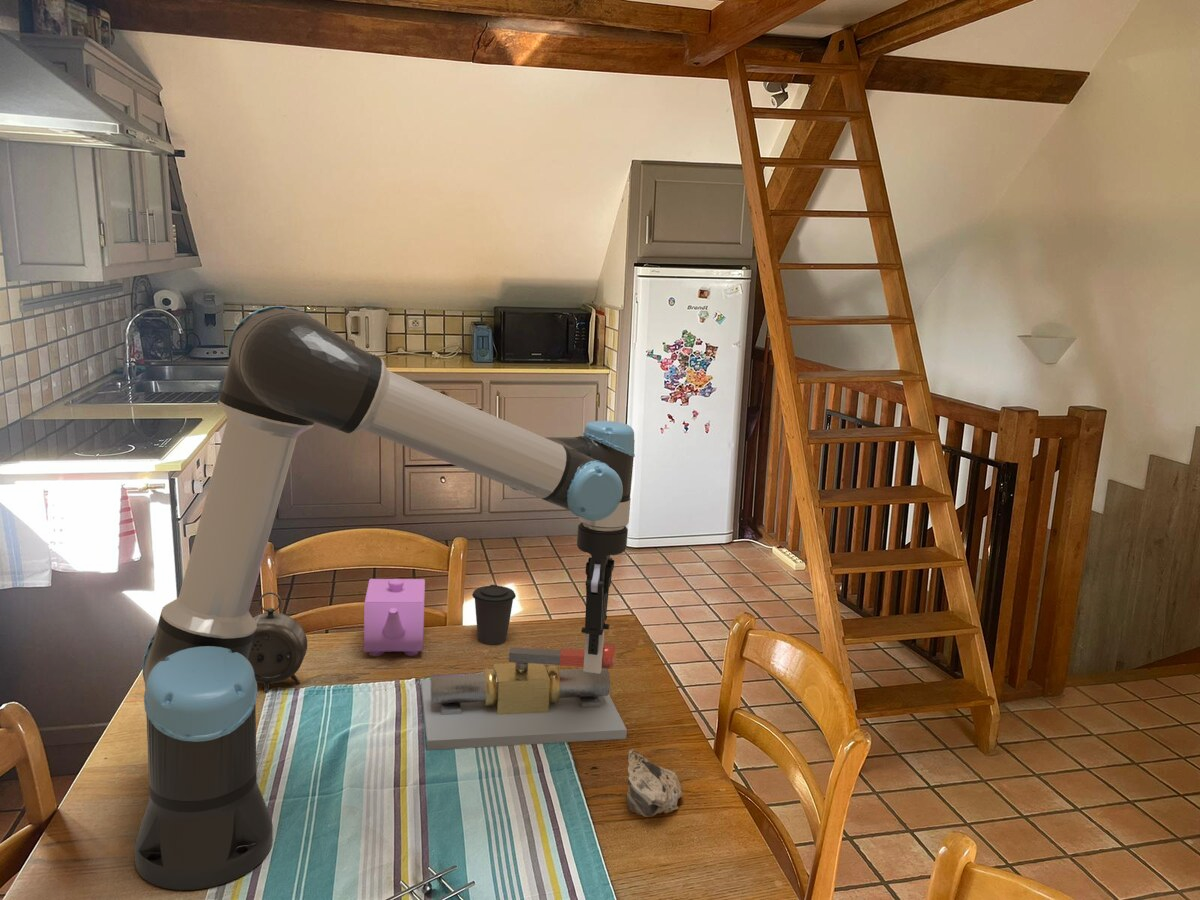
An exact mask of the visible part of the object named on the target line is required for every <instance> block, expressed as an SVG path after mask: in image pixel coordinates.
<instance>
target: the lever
mask: <svg viewBox="0 0 1200 900" xmlns="http://www.w3.org/2000/svg"><path fill="white" fill-rule="evenodd" d="M584 653H585V649H576V648H560V649H548V648H547V649H546V648H545V649H544V648H529V647H510V648H509V653H508V663H516V665H515V671H516V672H518V673H526V672H528V663H535V664H544V665H551V666H561V667H562V666H564V667H579V668H580V667H581V668H583V666H584ZM615 657H616V646H615V645H614V644H612V643H609V642H604V644H603V657H602V668H603V669H608V670H609V669H612V668H613V667H614V666H615V659H616V658H615Z"/></svg>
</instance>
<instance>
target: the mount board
mask: <svg viewBox="0 0 1200 900" xmlns="http://www.w3.org/2000/svg"><path fill="white" fill-rule="evenodd" d="M430 680H431V678H430V679H421V680H420V683H421V684H420V694H421V702H422V703H421V704H422V712H423V720H424V721H423V723H424V731H425V734H424V735H425V743H426V750H427V751H437V750H438V751H439V750H440V751H441V750H452V749H453V750H454V749H470V748H471V749H472V748H487V747H505V746H506V747H507V746H523V745H541V744H557V743H577V742H594V741H606V740H607V741H611V740H626V739H627V735H628V734H627V732H628V730H627V727H626V725H625V723H624V721H623V720H622V717H621V715H620V713H619V712H618V709H617V707H616V705H615V704H614V701H613V700H612V698H611V696H610V694H609V695H608V696H598V698H599V700H600V707H597V708H581V706H580V703H579V701H578V699H577V697H575V698H560V699H559V702H558V703H549V707H548V712H540V713H520V714H500V715H497V712H496V708H495V706H484V704H483V702H469V703H460V704H461V714H456V715H441V709H440V704H431V699H430Z"/></svg>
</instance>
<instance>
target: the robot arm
mask: <svg viewBox="0 0 1200 900" xmlns="http://www.w3.org/2000/svg"><path fill="white" fill-rule="evenodd" d="M227 350H228V353H227V355H228V361H229V362H228V365H227V369H226V372H225V375H224V381H223V384H222V387H221V392H220V396H219V399H218V404H219V406H220V408H221V409H222V410H223V412H224V413H225V415H226V418H227V420H226V423H225V427H224V429H223V434H222V438H221V442H220V445H219V449H218V452H217V455H216V459H215V464H214V467H213V470H212V471H213V472H212V474H211V478H210V482H209V485H208V488H207V491H206V492H207V493H206V497H205V499H204V504H203V507H202V511H201V514H200V518H199V522H198V525H197V529H196V532H195V537H194V539H193V544H192V546H191V551H190V553H189V559H188V562H187V566H186V569H185V573H184V577H183V580H182V584H181V587H180V591H179V594H178V597H177V598H176V599H174V600H172V601H170V602H169V603H167V604H165V605H164V606H163V607H162V609H161V612H160V616H159V619H158V623H157V626H156V630H155V632H154V634H152V637H151V638H150V639H149V641H148V644H147V646H146V648H145V651H144V655H143V658H142V678H143V681H144V687H145V688H144V689H145V690H144V695H143V704H144V712H145V714H146V715H145V716H146V735H147V739H146V740H147V741H146V742H147V763H148V764H147V765H148V784H149V785H148V786H149V791H148V792H149V798H148V803H147V805H146V808H145V811H144V814H143V817H142V820H141V823H140V826H139V830H138V831H137V834H136V839H135V844H134V860H135V861H134V862H135V863H134V864H135V868H136V869H135V870H136V871H137V873H138V874H139V876H140V877H142V879H144V880H145V881H146V882H148V883H150V884H151V885H153V886H156V887H160V888H163V889H167V890H169V889H170V890H177V891H192V890H193V891H194V890H201V889H207V888H213V887H216V886H219V885H223V884H226V883H229V882H232V881H233V880H236V879H238V878H240V877H242V876H244V875H246V874H247V873H249V872H251V871H252V870H254V869H255V868H256V867H258V866H259V865H260V864H261V863H262V862H263V861H264V860H265V859H266V857H267V856H268V854H269V853H270V852H271V850H272V846H273V841H274V839H273V836H274V833H273V829H274V828H273V821H272V816H271V814H270V812H269V808H268V806H267V804H266V801H265V799H264V796H263V795H262V791H261V790H260V787H259V784H258V781H257V778H258V777H257V775H258V773H257V767H258V766H257V720H256V719H257V717H256V716H257V714H256V713H257V711H256V709H257V708H256V704H257V698H258V682H256V679H255V674H254V670H253V667H252V665H251V663H250V662H249V661H248V657H249V653H250V650H251V646H252V642H253V639H254V635H255V632H256V628H257V624H256V622H255V620H254V619H253V617H254V616H252V615H251V613H250V607H251V604H252V601H253V596H254V593H255V589H256V587H257V586H256V585H257V581H258V579H259V574H260V571H261V568H262V565H263V560H264V558H265V557H264V556H265V553H266V550H267V547H268V542H269V539H270V536H271V531H272V528H273V526H274V521H275V517H276V515H277V510H278V507H279V503H280V501H281V500H280V499H281V496H282V493H283V490H284V486H285V482H286V478H287V475H288V473H289V469H290V464H291V462H292V457H293V455H294V450H295V446H296V445H297V444H296V443H297V440H298V437H299V436H300V435H301V434H302V433H304V432H306V431H308V430H310V429H313V427H314V425H315V423H317V424H320V425H323V426H326V427H329V428H332V429H335V430H338V431H340V432H343V433H345V434H349V435H354V434H355V433H359V432H361V431H364V432H368V433H370V434H373V435H375V436H378V437H381V438H383V439H385V440H388V441H390V442H393V443H395V444H398V445H401V446H404V447H406V448H409V449H411V450H415V451H417V452H419V453H422V454H424V455H426V456H430V457H433V458H435V459H437V460H441V461H442V462H445V463H449V464H451V465H452V466H456V467H457V468H458V467H459V468H461V469H464V470H466V471H469V472H472V473H474V474H477V475H479V476H482V477H484V478H487V479H490V480H492V481H494V482H497V483H500V484H503V485H505V486H507V487H509V488H510V489H512V490H513V491H521V492H523V493H526V494H529V495H532V496H533V497H536V498H540V499H541V500H542V501H545V502H548V503H551V504H552V505H555V506H559V507H561V508H564V509H565V510H568V511H569V512H571V514H572V515H574V516H576V517H578V519H579V522H580V523H579V524H578V526H577V538H576V539H577V540H576V546H577V548H578V549H579V550H580V551H582V552H584V553H588V554H589V555H590V556H591V557H590V556H588V560H587V562H586V563H585V572H584V573H585V574H586V581H585V584H584V585H585V592H586V593H585V594H586V595H585V617H584V618H585V619H584V620H585V623H584V626H583V627H582V628H581V630H580V633H581V634H585V640H584V641H585V642H584V650H585V653H584V666H583V667H582V669H583V672H591V673H601V670H602V657H603V644H604V643H605V641H604V640H605V630H610V625H611V624H609V623H606V621H607V618H608V615H607V614H608V613H607V611H608V603H609V595H610V587H611V584H612V576H613V575H612V574H613V571H614V568H615V559H613V558H612V557H611V556H618V555H621V554H623V553H625V552H626V550H627V547H628V546H627V545H628V544H627V542H628V534H629V530H628V528H627V525H629V523H630V522H629V521H630V513H631V512H630V511H631V491H632V479H633V468H634V458H635V457H636V456H635V455H636V454H635V431H634V429H633V427H632V426H630V425H629V424H627V423H623V422H619V421H612V420H595V421H589V422H587V423H586V425H585V426H584V429H583V433H582V434H583V435H579V436H570V437H569V436H561V437H560V436H559V437H555V436H553V437H551V436H549V437H547V436H545V437H543V436H541V435H539V434H537V433H535V432H534V431H533V432H532V431H529V430H528V429H525V428H524V427H520V426H519V425H516V424H514V423H511V422H509V421H506V420H504V419H501V418H500V417H498V416H495V415H492V414H491V413H488V412H485V411H484V410H481V409H479V408H476V407H474V406H471V405H470V404H467V403H465V402H462V401H460V400H458V399H455V398H453V397H450V396H448V395H447V394H444V393H441V392H439V391H437V390H434V389H432V388H430V387H427V386H425V385H422V384H420V383H418V382H416V381H414V380H412V379H409V378H407V377H404V376H402V375H399V374H397V373H395V372H392V371H390V370H388V369H387V366H386V363H385V360H384V359H383V358H381V357H379V356H377V355H375V354H372V353H370V352H368V351H366V350H364V349H362V348H359V347H358V346H356V345H354V344H353V343H351V342H350V341H348V340H346V339H345V338H343V337H342V336H340V335H339V334H338V333H336V332H335V331H333V330H332V329H331V328H329V327H328V326H326V325H325V324H324V323H322V322H321V321H319V320H318V319H316V318H313V316H311V315H309V313H307V312H304V311H302V310H299V309H297V308H295V307H288V306H285V305H277V306H274V305H273V306H266V307H262V308H259V309H256V310H255V311H253V312H251V313H250V314H248V315H247V316H245V317H244V318H243V319H242V320H241V321H239V323H238V324H237V325H236V326H235V328H234V330H233V331H232V333H231V335H230V338H229V342H228V348H227Z"/></svg>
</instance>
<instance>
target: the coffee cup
mask: <svg viewBox="0 0 1200 900" xmlns="http://www.w3.org/2000/svg"><path fill="white" fill-rule="evenodd" d="M471 596H472V598H474V607H475V617H476V619H475V621H476V632H477V640H478V642H479V643H481V644H482V645H487V646H499V645H503V644H505V643H506V642H507V639H508V633H509V628H510V627H509V626H510V620H511V614H512V608H513V603H514V602H513V601H514V599H516V596H517V595H516V593H515V591H514V590H513V589H511V588H510V587H506V586H503V585H498V584H490V585H483V586H480V587H477V588H475V590H473V592H472V594H471Z"/></svg>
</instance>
